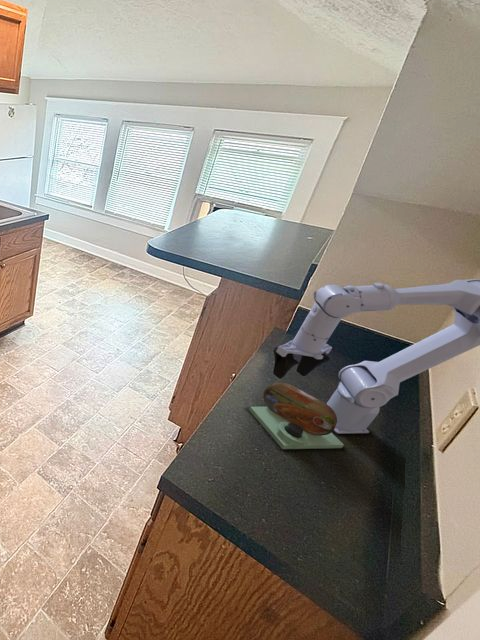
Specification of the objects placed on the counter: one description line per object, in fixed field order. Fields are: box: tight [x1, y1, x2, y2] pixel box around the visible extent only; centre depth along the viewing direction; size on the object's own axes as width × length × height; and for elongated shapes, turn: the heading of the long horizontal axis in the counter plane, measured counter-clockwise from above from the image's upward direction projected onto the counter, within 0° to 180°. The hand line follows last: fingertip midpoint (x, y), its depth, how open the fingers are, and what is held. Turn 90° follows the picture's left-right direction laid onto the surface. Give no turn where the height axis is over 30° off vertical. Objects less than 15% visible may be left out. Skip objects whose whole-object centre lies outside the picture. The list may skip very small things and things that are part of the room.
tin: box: [262, 382, 337, 436], centre depth 95 cm, size 15×3×8 cm, turn 38°
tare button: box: [285, 423, 303, 438], centre depth 90 cm, size 3×3×2 cm
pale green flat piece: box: [248, 406, 345, 450], centre depth 95 cm, size 16×12×3 cm
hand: (288, 374), depth 98 cm, fingers open, 7 cm apart
